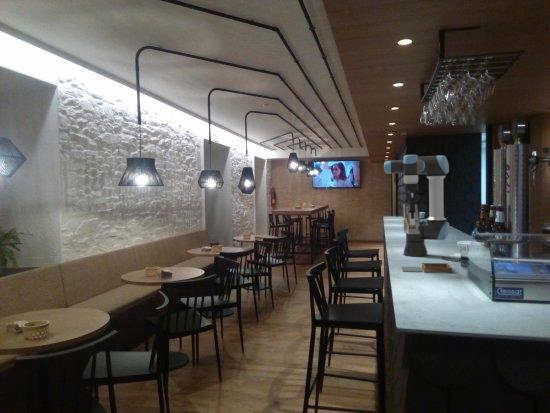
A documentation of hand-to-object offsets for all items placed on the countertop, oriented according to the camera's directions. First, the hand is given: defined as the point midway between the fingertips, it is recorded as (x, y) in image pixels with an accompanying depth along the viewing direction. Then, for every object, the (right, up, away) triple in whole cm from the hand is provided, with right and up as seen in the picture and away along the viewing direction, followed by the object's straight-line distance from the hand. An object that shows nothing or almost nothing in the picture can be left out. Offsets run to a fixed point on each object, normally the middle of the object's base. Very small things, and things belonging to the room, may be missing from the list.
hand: (411, 223), depth 235 cm
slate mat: (0, -26, +1) cm, 26 cm away
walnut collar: (+13, -25, -2) cm, 28 cm away
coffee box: (0, -5, 0) cm, 5 cm away
